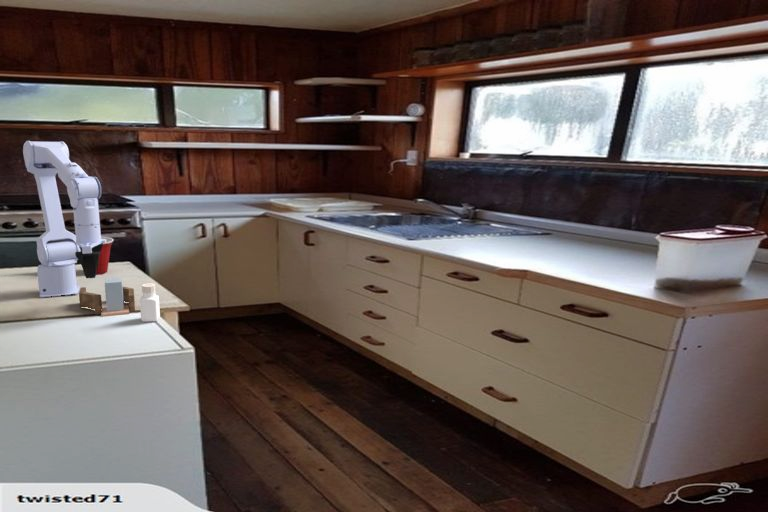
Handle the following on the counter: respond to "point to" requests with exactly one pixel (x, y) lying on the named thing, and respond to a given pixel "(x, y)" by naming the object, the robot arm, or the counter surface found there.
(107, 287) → the slate block
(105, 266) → the plastic cup
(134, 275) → the counter surface
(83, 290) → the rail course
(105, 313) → the coaster
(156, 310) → the pepper shaker
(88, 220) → the robot arm
